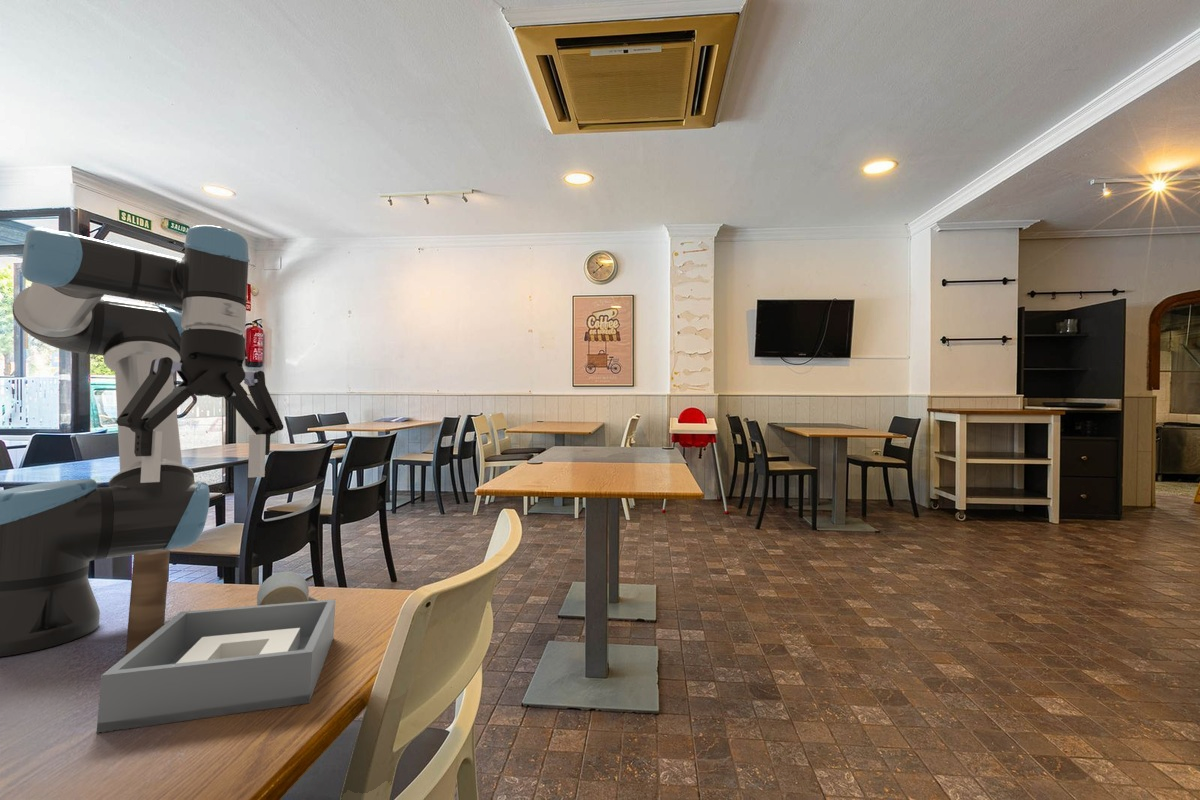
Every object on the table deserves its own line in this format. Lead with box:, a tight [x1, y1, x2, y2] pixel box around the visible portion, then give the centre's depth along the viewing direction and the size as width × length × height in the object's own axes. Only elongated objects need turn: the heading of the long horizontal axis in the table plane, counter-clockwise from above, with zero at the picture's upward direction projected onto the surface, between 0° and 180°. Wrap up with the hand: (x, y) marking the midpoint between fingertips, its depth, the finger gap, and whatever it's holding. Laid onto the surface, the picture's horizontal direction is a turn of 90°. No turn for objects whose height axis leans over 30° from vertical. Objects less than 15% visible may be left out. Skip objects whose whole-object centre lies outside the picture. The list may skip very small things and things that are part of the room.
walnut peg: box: [125, 550, 171, 656], centre depth 74 cm, size 4×4×14 cm
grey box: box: [96, 598, 336, 734], centre depth 67 cm, size 20×20×6 cm
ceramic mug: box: [256, 570, 320, 606], centre depth 87 cm, size 11×8×8 cm
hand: (207, 479), depth 72 cm, fingers open, 13 cm apart
